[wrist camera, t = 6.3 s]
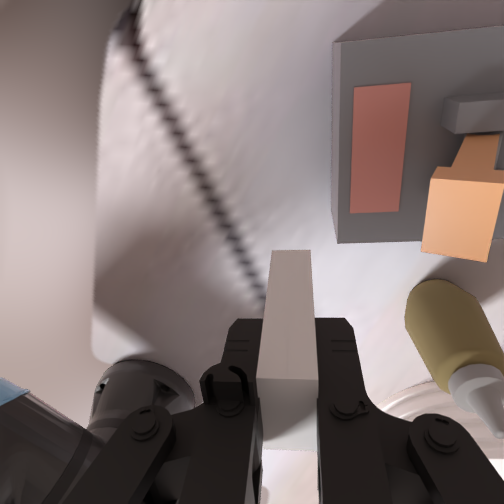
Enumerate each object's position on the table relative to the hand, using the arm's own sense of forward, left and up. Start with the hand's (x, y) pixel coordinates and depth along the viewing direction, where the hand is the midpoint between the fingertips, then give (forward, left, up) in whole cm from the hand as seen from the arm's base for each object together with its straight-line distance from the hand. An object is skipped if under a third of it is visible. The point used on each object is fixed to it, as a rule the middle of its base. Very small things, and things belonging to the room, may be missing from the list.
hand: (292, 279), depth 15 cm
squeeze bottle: (+15, -20, -26) cm, 36 cm away
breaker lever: (+14, 0, -18) cm, 22 cm away
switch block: (+13, 0, -26) cm, 29 cm away
